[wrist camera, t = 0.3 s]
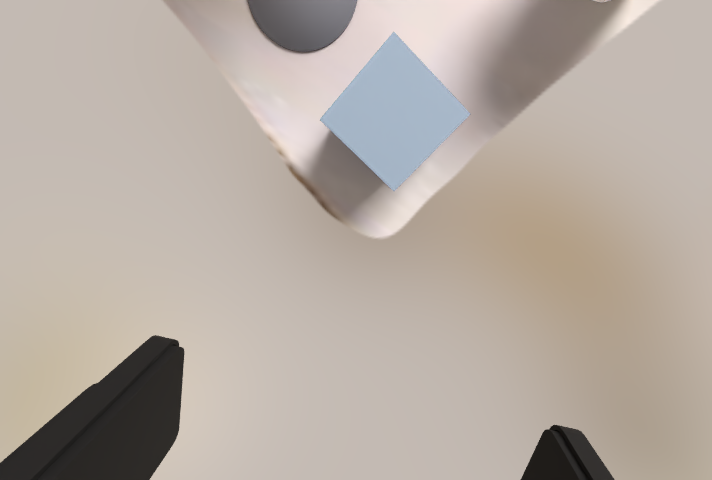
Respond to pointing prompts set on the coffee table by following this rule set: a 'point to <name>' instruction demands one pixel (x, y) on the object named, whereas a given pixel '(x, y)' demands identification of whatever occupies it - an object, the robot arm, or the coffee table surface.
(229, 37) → the coffee table surface
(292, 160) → the coffee table surface
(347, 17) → the disc
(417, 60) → the blue box
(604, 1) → the foam cup
